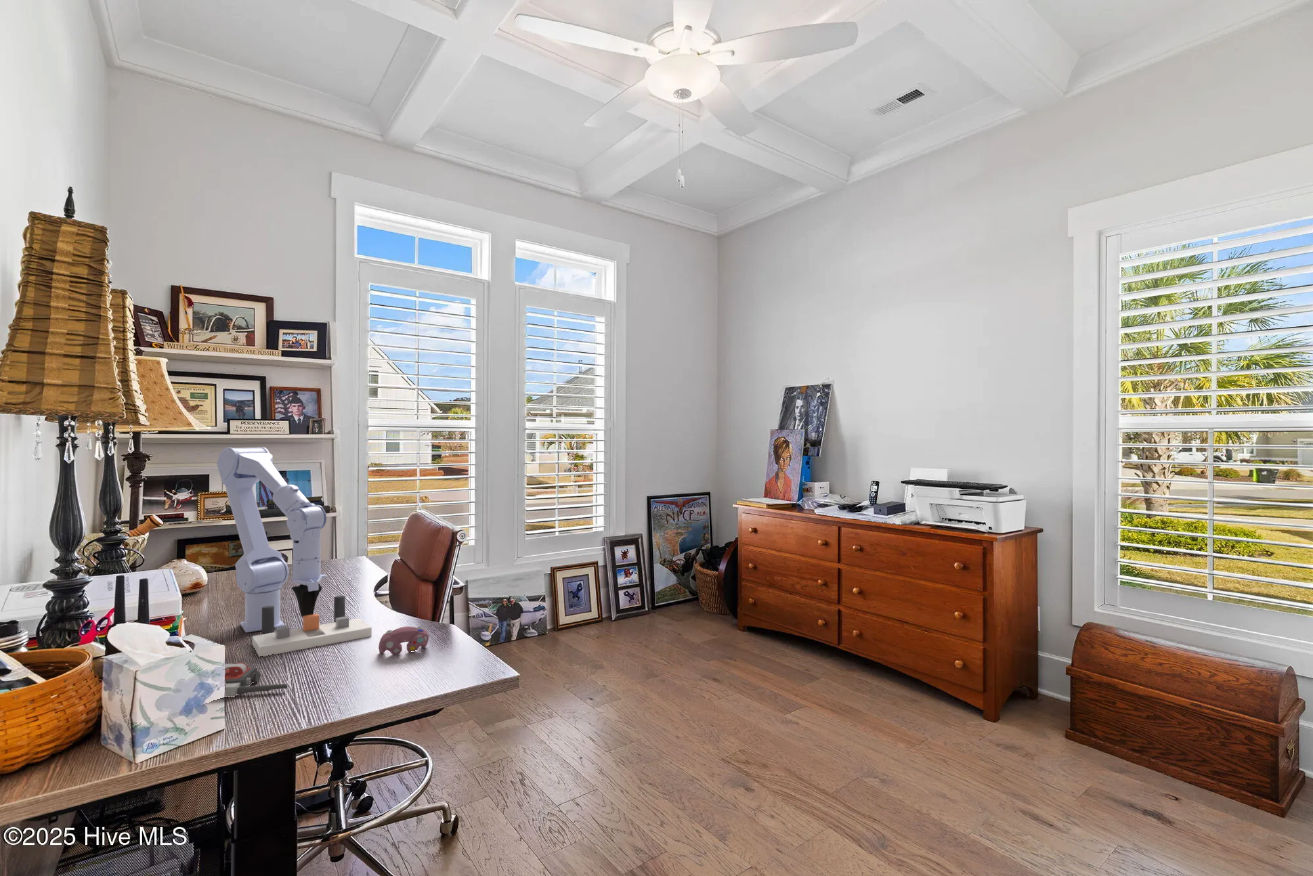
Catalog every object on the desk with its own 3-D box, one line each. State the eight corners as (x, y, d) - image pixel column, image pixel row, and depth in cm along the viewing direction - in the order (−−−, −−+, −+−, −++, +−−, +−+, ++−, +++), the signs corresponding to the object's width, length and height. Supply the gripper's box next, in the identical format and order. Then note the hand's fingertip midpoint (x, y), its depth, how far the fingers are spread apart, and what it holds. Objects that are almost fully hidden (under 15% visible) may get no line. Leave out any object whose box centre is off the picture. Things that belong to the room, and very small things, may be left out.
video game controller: (379, 665, 130) (380, 638, 128) (377, 649, 134) (378, 623, 131) (429, 657, 135) (431, 632, 132) (426, 642, 139) (428, 617, 136)
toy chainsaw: (156, 706, 107) (285, 696, 111) (156, 680, 107) (285, 671, 111) (183, 686, 116) (302, 678, 120) (183, 662, 116) (302, 655, 120)
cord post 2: (332, 625, 153) (333, 596, 153) (343, 623, 155) (343, 595, 155) (335, 627, 151) (335, 598, 151) (346, 625, 153) (346, 596, 153)
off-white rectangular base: (252, 645, 138) (252, 627, 138) (359, 626, 152) (359, 609, 152) (259, 657, 130) (259, 637, 131) (371, 636, 145) (371, 618, 145)
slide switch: (302, 629, 143) (302, 616, 143) (317, 626, 145) (317, 613, 145) (304, 631, 142) (304, 617, 142) (319, 628, 143) (319, 615, 144)
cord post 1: (260, 637, 144) (261, 606, 144) (273, 635, 145) (273, 605, 145) (262, 640, 142) (262, 609, 142) (274, 638, 143) (275, 607, 143)
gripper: (333, 560, 144) (333, 620, 144) (318, 552, 155) (318, 607, 155) (298, 564, 139) (298, 625, 139) (286, 555, 150) (286, 612, 150)
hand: (306, 616), depth 147 cm, fingers closed
